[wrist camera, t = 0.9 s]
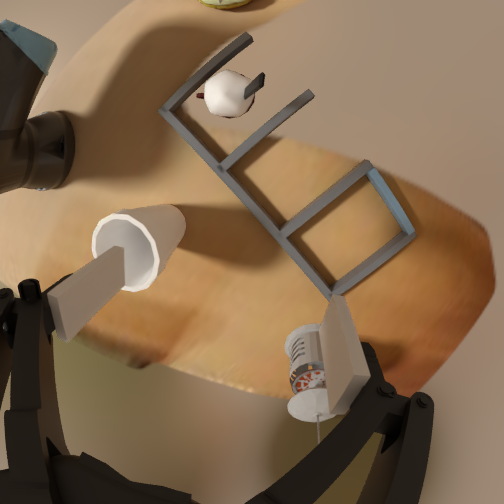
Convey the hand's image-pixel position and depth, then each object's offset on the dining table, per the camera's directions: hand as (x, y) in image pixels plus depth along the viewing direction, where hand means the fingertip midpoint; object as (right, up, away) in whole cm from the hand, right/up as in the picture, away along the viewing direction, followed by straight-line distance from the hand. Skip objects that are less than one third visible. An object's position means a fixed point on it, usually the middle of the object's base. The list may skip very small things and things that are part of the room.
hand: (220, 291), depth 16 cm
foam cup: (-11, +7, +25) cm, 28 cm away
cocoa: (0, +23, +17) cm, 29 cm away
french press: (+12, -15, +30) cm, 35 cm away
